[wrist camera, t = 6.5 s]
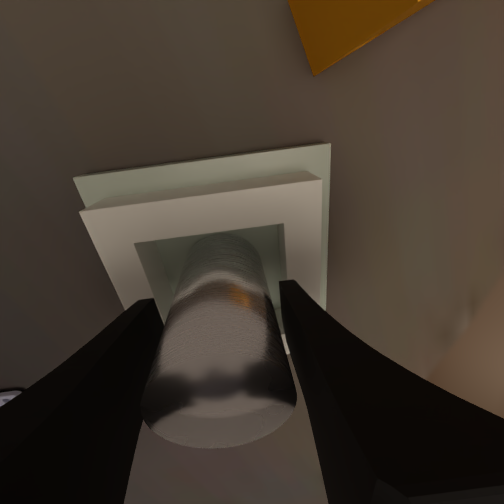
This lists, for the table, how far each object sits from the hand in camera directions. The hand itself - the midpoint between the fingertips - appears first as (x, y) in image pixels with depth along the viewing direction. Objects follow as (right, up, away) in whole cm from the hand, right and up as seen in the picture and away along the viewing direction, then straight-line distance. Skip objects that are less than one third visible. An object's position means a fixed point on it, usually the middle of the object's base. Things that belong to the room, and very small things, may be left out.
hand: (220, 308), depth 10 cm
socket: (0, +2, +4) cm, 4 cm away
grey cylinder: (0, +1, +3) cm, 3 cm away
